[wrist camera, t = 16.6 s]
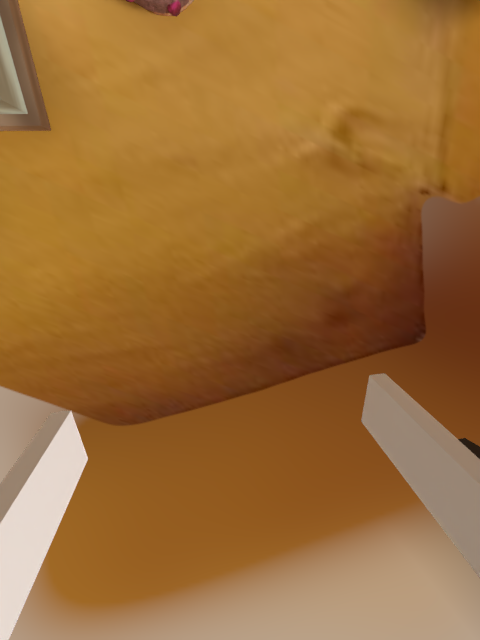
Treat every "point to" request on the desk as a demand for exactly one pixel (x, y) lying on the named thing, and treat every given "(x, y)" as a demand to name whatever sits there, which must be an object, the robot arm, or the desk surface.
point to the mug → (164, 6)
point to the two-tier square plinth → (18, 76)
